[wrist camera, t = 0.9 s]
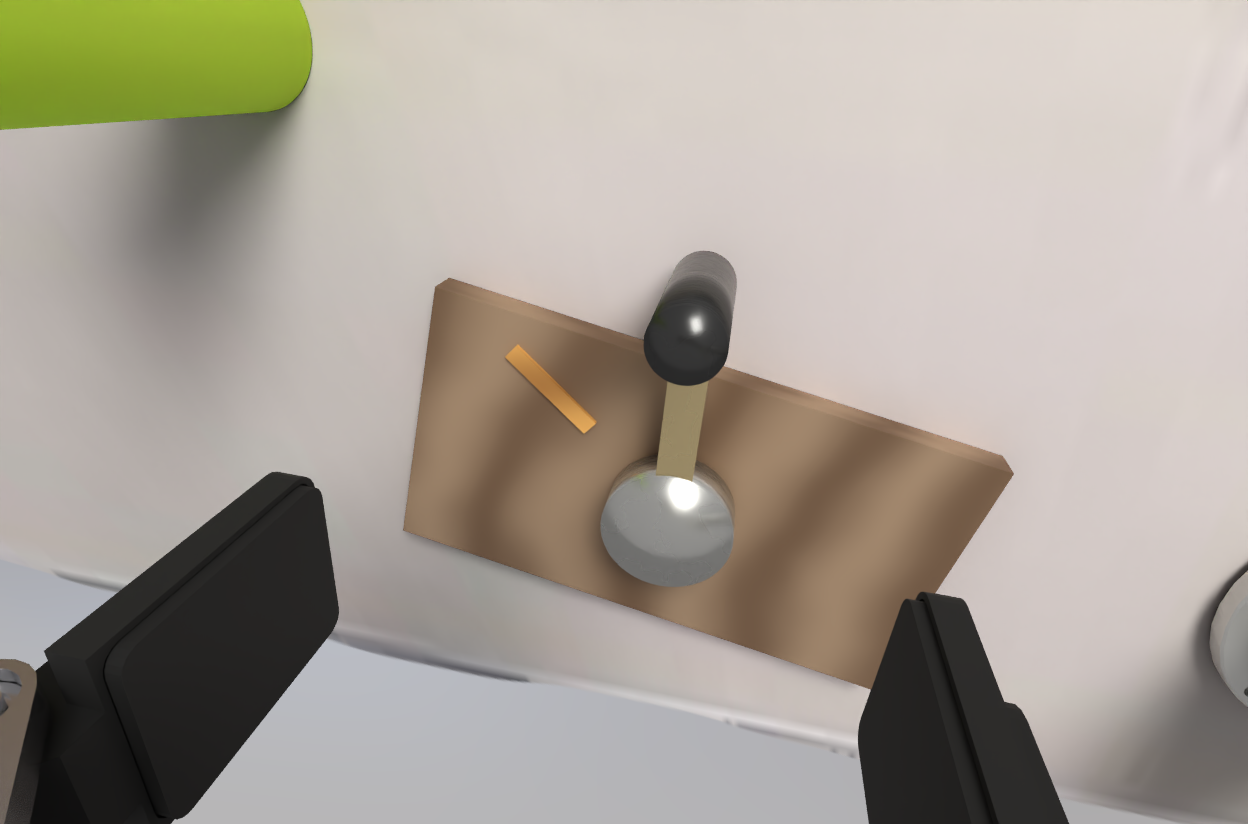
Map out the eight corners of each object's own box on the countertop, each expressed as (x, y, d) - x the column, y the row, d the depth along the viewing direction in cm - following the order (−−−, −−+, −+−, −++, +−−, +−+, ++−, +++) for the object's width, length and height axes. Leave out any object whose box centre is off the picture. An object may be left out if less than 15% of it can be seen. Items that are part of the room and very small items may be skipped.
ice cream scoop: (724, 569, 33) (715, 687, 27) (604, 547, 34) (568, 656, 27) (785, 261, 26) (793, 320, 20) (633, 241, 27) (592, 292, 20)
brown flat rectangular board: (1002, 456, 30) (1015, 476, 28) (867, 667, 36) (872, 693, 35) (449, 277, 31) (432, 288, 29) (415, 514, 37) (401, 532, 36)
